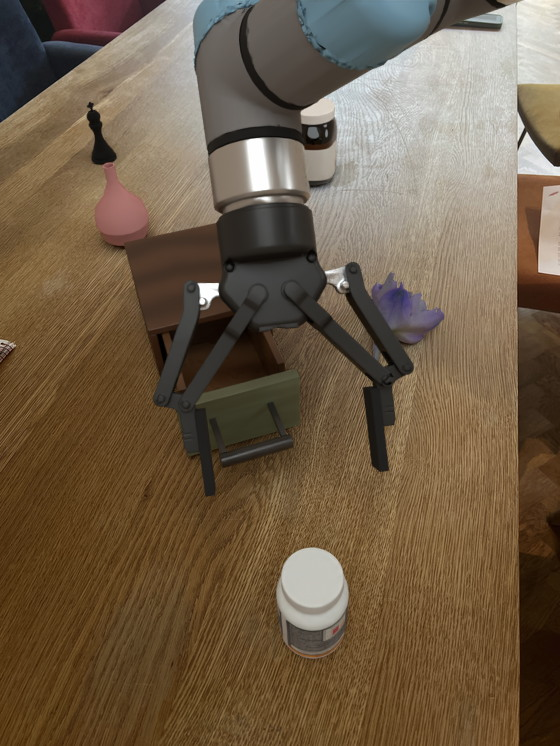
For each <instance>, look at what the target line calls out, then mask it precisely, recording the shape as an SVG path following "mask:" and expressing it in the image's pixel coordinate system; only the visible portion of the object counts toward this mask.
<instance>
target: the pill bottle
mask: <svg viewBox="0 0 560 746" xmlns="http://www.w3.org/2000/svg"><path fill="white" fill-rule="evenodd" d="M349 592H350V591H349V585H348V582H347V580H346V577H345V574H344V570H343V567H342V565H341V563H340V561H339V560H338V559H337V558H336V556H334V554H332V553H331V552H329V551H327V550H326V549H323V548H319V547H304V548H301V549H298V550H297V551H295V552H293V553H292V554H291V555H290V556H288V558H287V559H286V560H285V562H284V563H283V566H282V568H281V573H280V576H279V579H278V582H277V585H276V590H275V599H276V607H277V619H278V627H279V632H280V636H281V639H282V640H283V642H284V644H285V645H286V647H287V648H288V649H289V650H290V651H292V652H293V653H294V654H296V655H298V656H300V657H302V658H304V659H305V658H306V659H322V658H324V657H325V658H326V657H327V656H329V655H331V654H332V653H333V652H335V651H336V650H337V649H338V647H339V646H340V645H341V643H342V641H343V639H344V638H345V635H346V629H347V619H348V611H349V610H348V609H349V599H350V597H349V596H350V593H349Z"/></svg>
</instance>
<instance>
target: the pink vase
mask: <svg viewBox="0 0 560 746" xmlns="http://www.w3.org/2000/svg"><path fill="white" fill-rule="evenodd" d="M102 169H103V172H104V175H105V180H106V184H105V187H104V190H103V194H102V196H101V198H100V199H99V200H98V202H97V203H96V205H95V206H94V222H95V227H96V229H97V230H98V232H99V233H100V235H101V236H102V238H103V239H104V240H105V242H106V243H108V244H110V245H113V246H122V247H123V246H124V242H129V241H133V240H138V239H143V238H146V236H147V235H148V231H149V224H150V213H149V212H148V209H147V207H146V205H145V202H144V200H143V199H142V198H141V197H140V196H139V195H137V194H135V193H133V192H131V191H130V190H129V189H128V188H126V186H124V184H123V183H122V182H121V181H120V180H119V178H118V174H117V170H116V166H115V163H114V162H111V163H106V164H102ZM124 247H125V246H124Z"/></svg>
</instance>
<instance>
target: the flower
mask: <svg viewBox="0 0 560 746" xmlns="http://www.w3.org/2000/svg"><path fill="white" fill-rule="evenodd" d="M395 275H396V273H395V272H392V271H390V272H389V273H388V274H387V276H386V278H385V279H384V283H383V284H381V283H379V282H378V281H376V282H375V284H374V285H373V286H372V287H371V290H370V293H371V294H370V295H371V298H372V300H373V302H374V303H375V305H376V306H377V308H378V309H379V311H380V312H381V314H382V316H383V317H384V319H385V320H386V322H387V323H388V325H389V327H390V328H391V330H392V331H393V333H394V334H395V336H396V337H397V339H398V341H399V342H402V343H405V344H412V345H413V344H416V343H418V342H420V341H422V340H423V338H424V337H425V335H427V334H428V333H430V332H432V331H434V330H435V329H436V328H437V327H438V326H439V325H440V324H441V322H443V320H445V317H446V316H445V313H444V312H443V310H442V309H441V307H440V308H438V306H436V307H434V308H432V309H428V307H427V306H428V305H427V303H426V300H425V299H422V297H423V294H422V292H419V293H414V294H413V292H412V291H408V290H407V289H405V285H404V283H403V281H402V280H400V282H399V286H398V281H397V280H395V279H394V278H395ZM372 342H373V341H372ZM372 353H373V357H374V358H375V359H376V360H377V361H378V362H380V359H381V353H380V351H379V350H378V348H377V346H376V345H375V343H374V342H373V343H372Z"/></svg>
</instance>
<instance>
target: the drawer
mask: <svg viewBox="0 0 560 746" xmlns="http://www.w3.org/2000/svg"><path fill="white" fill-rule="evenodd" d="M233 317H234V315H233V316H229V317H225V318H221V319H217V320H213V321H209V322H205V323H201V324H198V325H197V328H196V331H195V333H194V336H193V339H192V342H191V345H190V348H189V351H188V353H187V356H186V359H185V362H184V365H183V368H182V371H181V373H180V376H179V379H178V382H177V385H176V388H175V392H179V393H183V394H184V392H185V390H186V389H187V387H188V386H189V384H190V383H191V381H192V380H193V378H194V377H195V375H196V374H197V372H198V371H199V369H200V368H201V366H202V364H203V363H204V361H205V360H206V358H207V357H208V355H209V354H210V352H211V351H212V349H213V348H214V346H215V345H216V343H217V342H218V340H219V338H220V337H221V335H222V334H223V332H224V331H225V329H226V328H227V326H228V324H229V323H230V321H231V320H232V318H233ZM176 330H177V329H176ZM176 330H172V331H168V332H164V333H160V336H161V340H162V344H163V348H164V353H165V356H166V359H167V356H168V353H169V350H170V347H171V345H172V342H173V339H174V336H175V333H176ZM200 408H206V415H207V423H208V431H209V438H210V446H211V451H214V450H217V449H218V451H219V454H218V457H219V458H218V459H219V462H220V465H221V468H222V469H226V468H229V467H233V466H236V465H240V464H243V463H247V462H250V461H254V460H256V459H257V460H258V459H260V458H263V457H267V456H270V455H274V454H277V453H280V452H285V451H288V450H291V449H294V447H295V446H294V445H295V444H294V440H293V437H292V435H291V434H290V433H287V430H286V429H290V428H293V427H294V428H295V427H297V426H300V425H301V376H300V373H299V372H298V369H297V368H292V369H288V370H286V362H285V360H284V357H283V355H282V353H281V351H280V349H279V347H278V345H277V343H276V340H275V338H274V335H273V336H272V334H271V332H270V331H267V332H259V333H258V332H255V331H252V330H250V329H249V328H247V327H246V328H245V329H244V331H243V332H242V334H241V335H240V337H239V338H238V340H237V342H236V343H235V345H234V346H233V348H232V349H231V351H230V352H229V354H228V355H227V357H226V358H225V360H224V361H223V363H222V364H221V366H220V368H219V369H218V371H217V372H216V374H215V375H214V377H213V378H212V380H211V381H210V383H209V384H208V386H207V387H206V389H205V390H204V392H203V394H202V395H201V397H200V398H199V400H198V401H197V403H196V409H200ZM175 412H176V415H177V420H178V425H179V428H180V432H181V433H182V428H181V420H180V415H179V413H178V412H177V411H176V410H175ZM276 432H278V434H279V436H276V437H273V438H269V439H266V440H263V441H262V440H261V441H259V442H256V443H251V444H248V445H245V446H242V447H238V448H235V449H231V450H227V448H226V447H227V446H231V445H234V444H238V443H241V442H245V441H249V440H253V439H256V438H259V437H263V436H266V435H270V434H272V433H276ZM181 436H182V437H183V435H182V434H181ZM186 455H187V457H192V456H196V455H200V452H195V453H187V452H186Z"/></svg>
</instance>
